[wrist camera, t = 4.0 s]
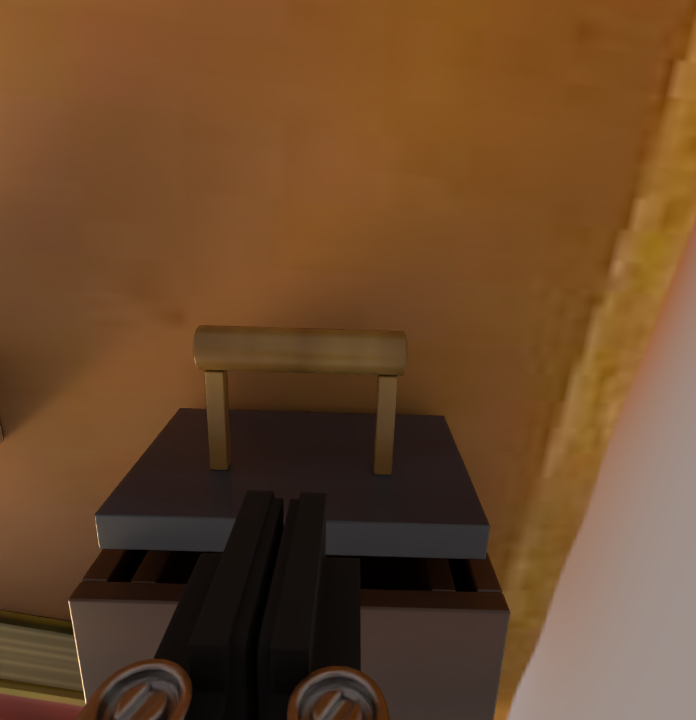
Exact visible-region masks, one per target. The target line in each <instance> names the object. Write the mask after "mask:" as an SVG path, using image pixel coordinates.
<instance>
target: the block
mask: <svg viewBox="0 0 696 720" xmlns="http://www.w3.org/2000/svg"><path fill="white" fill-rule="evenodd" d="M3 440H4V439H3V434H2V429H1V424H0V443H1V442H2V441H3Z"/></svg>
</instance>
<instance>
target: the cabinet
mask: <svg viewBox="0 0 696 720" xmlns="http://www.w3.org/2000/svg"><path fill="white" fill-rule="evenodd" d="M147 552H148V550H124V549H103V550H102V551H101V553H100V554H99V556H98V557H97V558H96V560H95V561H94V563H93V564H92V566H91V567H90V568H89V570H88V571H87V573H86V574H85V576H84V577H83V578H82V582H80V583H79V585H78V586H77V587H76V589H75V590H74V592H73V593H72V595H71V596H70V597H69V600H68V604H69V609H70V615H71V621H72V627H73V633H74V639H75V645H76V651H77V657H78V663H79V668H80V674H81V680H82V686H83V692H84V698H85V704H86V703H87V702H88V701H89V699H90V698H91V696H92V695H93V693H94V692H95V691H96V690H97V689H98V688H99V687H100V685H101V684H102V683H103V682H104V681H105V680H106V679H107V678H109V677H110V676H111V675H113V674H114V673H115V672H117V671H118V670H119V669H121V668H124V667H126V666H128V665H130V664H132V663H135V662H138V661H143V660H147V659H154V656H155V654H156V652H157V650H158V647H159V645H160V643H161V641H162V638H163V636H164V634H165V632H166V629H167V627H168V625H169V623H170V620H171V618H172V616H173V614H174V611H175V609H176V607H177V605H178V603H179V600H180V598H181V596H182V594H183V591H184V589H185V587H186V585H187V584H172V583H136V582H131V580H132V578H133V576H134V575H135V573H136V571H137V569H138V568H139V566H140V564H141V562H142V561H143V559H144V557H145V555H146V554H147ZM448 562H449V566H450V570H451V574H452V578H453V581H454V585H455V589H456V591H423V590H387V589H360V613H361V671H362V672H363V673H364V674H366V675H367V676H369V677H370V678H372V679H373V680H374V681H375V683H376V684H377V685H378V686H379V688H380V689H381V690H382V692H383V695H384V697H385V700H386V702H387V706H388V711H389V715H390V720H493V719H494V713H495V706H496V700H497V693H498V687H499V680H500V674H501V667H502V661H503V655H504V648H505V642H506V635H507V629H508V622H509V616H510V611H509V608H508V605H507V603H506V600H505V597H504V595H503V593H502V590H501V587H500V585H499V582H498V579H497V577H496V574H495V571H494V569H493V566H492V564H491V561H490V558H489V556H488V553H486V559H484V560H480V559H448Z"/></svg>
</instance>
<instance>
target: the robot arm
mask: <svg viewBox="0 0 696 720" xmlns="http://www.w3.org/2000/svg"><path fill="white" fill-rule="evenodd" d="M326 509H327V494H326V493H319V492H301V494H300V498H299V499H292V498H291V499H290V502H289V507H288V511H287V516H286V520H285V524H284V501H283V498H275V495H274V491H262V490H247V492H246V494H245V497H244V499H243V502H242V505H241V507H240V510H239V512H238V515H237V518H236V520H235V523H234V525H233V528H232V531H231V533H230V536H229V538H228V541H227V544H226V546H225V549H224V551H223V553H202V554H201V555H200V556H199V558H198V560H197V562H196V564H195V567H194V569H193V571H192V573H191V576H190V578H189V580H188V582H187V585H186V587H185V589H184V591H183V594H182V596H181V598H180V600H179V603H178V605H177V607H176V609H175V611H174V614H173V616H172V618H171V620H170V623H169V625H168V627H167V629H166V632H165V634H164V636H163V638H162V641H161V643H160V645H159V647H158V650H157V652H156V654H155V656H154V659H147V660H143V661H138V662H135V663H132V664H130V665H128V666H126V667H124V668H121V669H119V670H118V671H117V672H115V673H114V674H113V675H111V676H110V677H109V678H107V679H106V680H105V681H104V682H103V683H102V684H101V685H100V687H99V688H98V689H97V690H96V691H95V692H94V693H93V695H92V696H91V698H90V699H89V701H88V702H87V703H86V705H85V706H84V708H83V709H82V711H81V712H80V713H79V715H78V716H77V718H76V719H75V720H390V715H389V711H388V706H387V702H386V700H385V697H384V695H383V692H382V690H381V689H380V688H379V686H378V685H377V684H376V683H375V681H374V680H373V679H372V678H370V677H369V676H367V675H366V674H364V673H363V672H362V671H361V613H360V559H359V558H332V557H326Z"/></svg>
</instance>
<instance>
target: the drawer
mask: <svg viewBox="0 0 696 720" xmlns="http://www.w3.org/2000/svg"><path fill="white" fill-rule="evenodd" d="M193 357H194V362H195V365H196V367H197V368H198V369H200V370H206V371H205V389H206V406H207V409H192V408H180V409H179V410H178V411H177V412H176V414H175V415H174V416H173V417H172V419H171V420H170V421H169V422H168V424H167V425H166V426H165V427H164V429H163V430H162V431H161V432H160V434H159V435H158V436H157V437H156V439H155V440H154V441H153V442H152V444H151V445H150V446H149V447H148V449H147V450H146V451H145V452H144V453H143V455H142V456H141V457H140V458H139V460H138V461H137V462H136V463H135V465H134V466H133V467H132V468H131V470H130V471H129V472H128V473H127V475H126V476H125V477H124V478H123V480H122V481H121V482H120V483H119V485H118V486H117V487H116V488H115V490H114V491H113V492H112V493H111V495H110V496H109V497H108V498H107V500H106V501H105V502H104V503H103V505H102V506H101V507H100V508H99V510H98V511H97V512H96V513H95V523H96V531H97V538H98V545H99V548H100V549H124V550H148V552H147V554H146V555H145V557H144V559H143V561H142V562H141V564H140V566H139V568H138V569H137V571H136V573H135V575H134V576H133V578H132V580H131V582H136V583H172V584H187V582H188V580H189V578H190V576H191V573H192V571H193V569H194V567H195V564H196V562H197V560H198V558H199V556H200V555H201V554H202V553H223V551H224V549H225V546H226V544H227V541H228V538H229V536H230V533H231V531H232V528H233V525H234V523H235V520H236V518H237V515H238V512H239V510H240V507H241V505H242V502H243V499H244V497H245V494H246V492H247V490H262V491H274V495H275V498H283V501H284V524H285V520H286V516H287V511H288V507H289V502H290V499H291V498H292V499H299V498H300V494H301V492H319V493H326V494H327V509H326V557H332V558H359V559H360V589H387V590H423V591H456V589H455V585H454V581H453V578H452V574H451V570H450V566H449V562H448V559H480V560H484V559H486V553H487V545H488V538H489V530H490V525H489V523H488V520H487V518H486V515H485V513H484V511H483V508H482V506H481V503H480V501H479V499H478V496H477V494H476V491H475V489H474V487H473V484H472V482H471V479H470V477H469V475H468V472H467V470H466V467H465V465H464V463H463V460H462V458H461V456H460V453H459V451H458V448H457V446H456V444H455V441H454V439H453V436H452V434H451V432H450V429H449V427H448V424H447V422H446V420H445V417H444V416H435V415H401V414H395V411H396V394H397V375H404V373H405V369H406V360H407V338H406V334H405V332H404V331H379V330H345V329H311V328H277V327H242V326H208V325H201V326H198V327H197V329H196V332H195V335H194V341H193ZM227 370H231V371H265V372H300V373H334V374H369V375H378V378H377V399H376V414H366V413H331V412H296V411H262V410H229V401H228V379H227Z"/></svg>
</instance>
